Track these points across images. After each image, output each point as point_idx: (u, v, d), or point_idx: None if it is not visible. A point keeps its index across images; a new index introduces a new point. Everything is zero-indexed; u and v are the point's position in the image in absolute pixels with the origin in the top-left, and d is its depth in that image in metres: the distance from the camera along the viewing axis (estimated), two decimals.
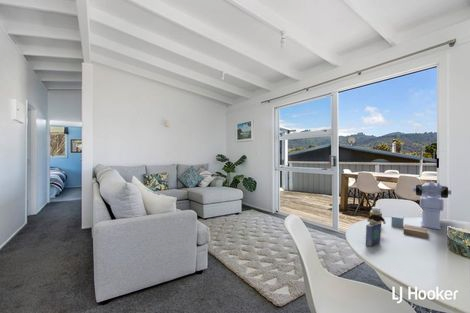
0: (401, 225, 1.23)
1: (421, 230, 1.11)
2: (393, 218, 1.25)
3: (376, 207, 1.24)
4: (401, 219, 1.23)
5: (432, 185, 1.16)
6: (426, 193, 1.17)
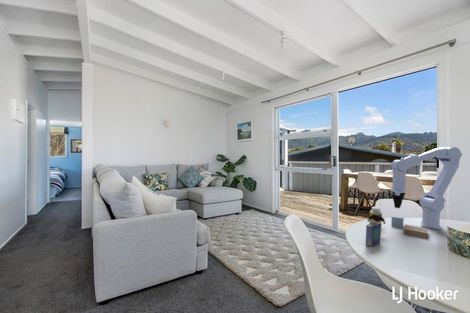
0: (401, 225, 1.23)
1: (421, 230, 1.11)
2: (393, 218, 1.25)
3: (376, 207, 1.24)
4: (401, 219, 1.23)
5: (392, 190, 1.27)
6: None
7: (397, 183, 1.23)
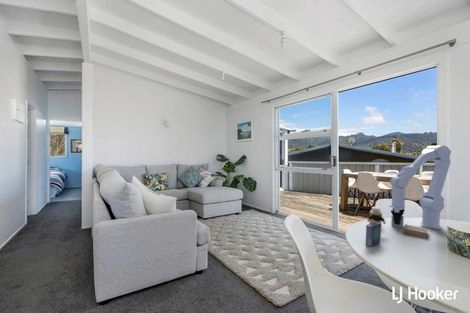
0: (401, 225, 1.23)
1: (421, 230, 1.11)
2: (393, 218, 1.25)
3: (376, 207, 1.24)
4: (401, 219, 1.23)
5: None
6: None
7: (396, 200, 1.24)
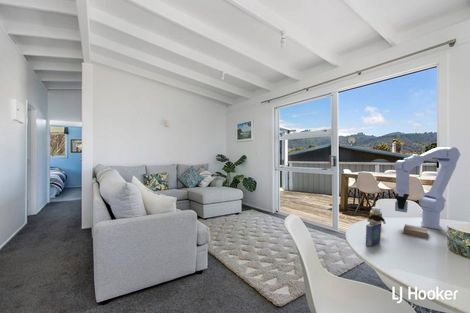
0: (405, 210, 1.20)
1: (421, 230, 1.11)
2: (397, 203, 1.22)
3: (376, 207, 1.24)
4: (405, 204, 1.20)
5: (395, 191, 1.24)
6: None
7: (401, 184, 1.21)
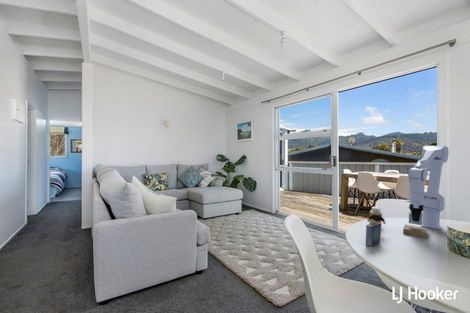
0: (420, 222, 1.11)
1: (421, 230, 1.11)
2: (411, 215, 1.13)
3: (376, 207, 1.24)
4: (420, 216, 1.11)
5: None
6: None
7: (415, 194, 1.11)
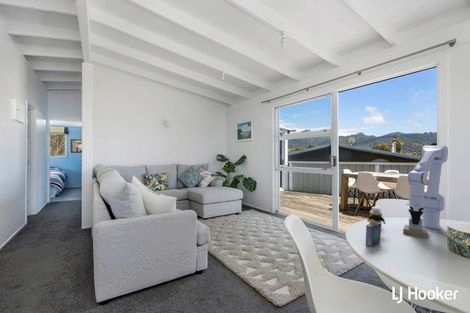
0: (420, 228, 1.11)
1: None
2: (411, 220, 1.13)
3: (376, 207, 1.24)
4: (420, 221, 1.11)
5: None
6: None
7: (415, 197, 1.12)
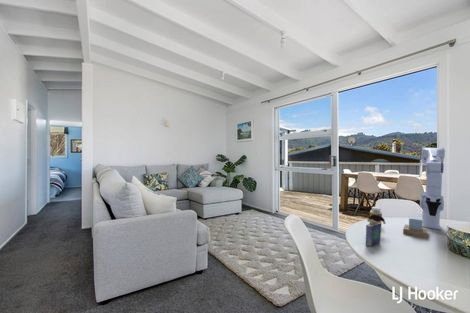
0: (420, 228, 1.11)
1: None
2: (411, 220, 1.13)
3: (376, 207, 1.24)
4: (420, 221, 1.11)
5: (425, 196, 1.13)
6: None
7: (432, 188, 1.09)
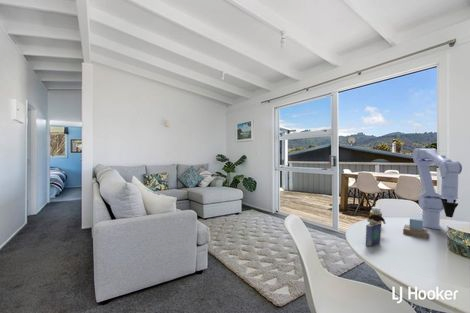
0: (421, 228, 1.11)
1: None
2: (411, 220, 1.13)
3: (376, 207, 1.24)
4: (421, 221, 1.11)
5: (441, 197, 1.11)
6: None
7: (448, 188, 1.08)
